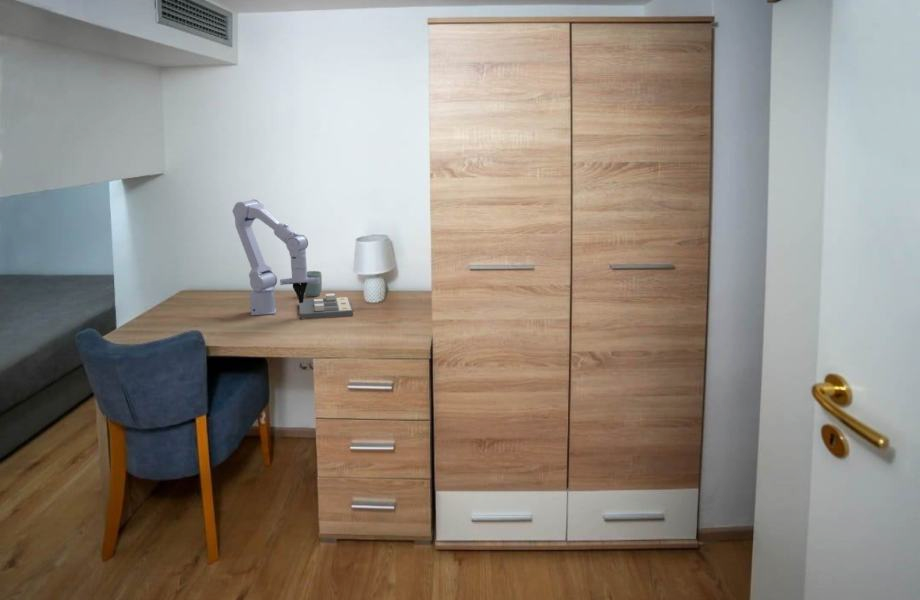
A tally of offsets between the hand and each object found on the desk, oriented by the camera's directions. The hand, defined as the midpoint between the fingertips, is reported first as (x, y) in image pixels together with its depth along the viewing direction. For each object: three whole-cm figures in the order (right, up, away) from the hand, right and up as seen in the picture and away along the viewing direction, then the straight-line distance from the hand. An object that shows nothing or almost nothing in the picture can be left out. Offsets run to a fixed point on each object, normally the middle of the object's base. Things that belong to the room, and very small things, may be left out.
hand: (301, 302), depth 310 cm
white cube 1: (+7, -3, +2) cm, 7 cm away
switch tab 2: (+8, +1, +18) cm, 20 cm away
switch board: (+7, -3, +11) cm, 13 cm away
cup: (-2, +2, +35) cm, 35 cm away
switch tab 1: (+5, -1, +10) cm, 11 cm away
